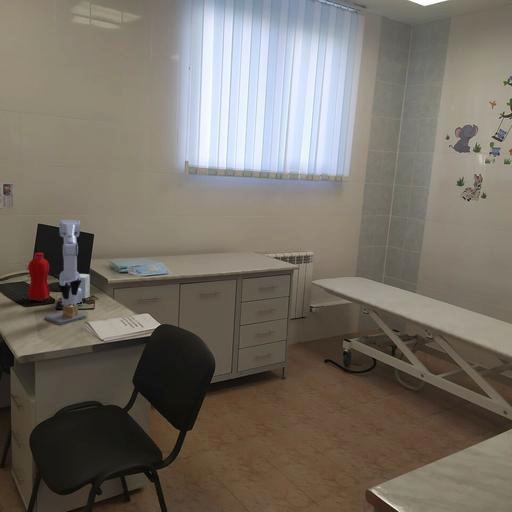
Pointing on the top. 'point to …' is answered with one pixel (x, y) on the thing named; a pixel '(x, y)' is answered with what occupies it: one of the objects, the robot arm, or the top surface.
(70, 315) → the wooden cubby box
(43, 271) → the water bottle
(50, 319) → the flat gray board
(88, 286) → the small box
